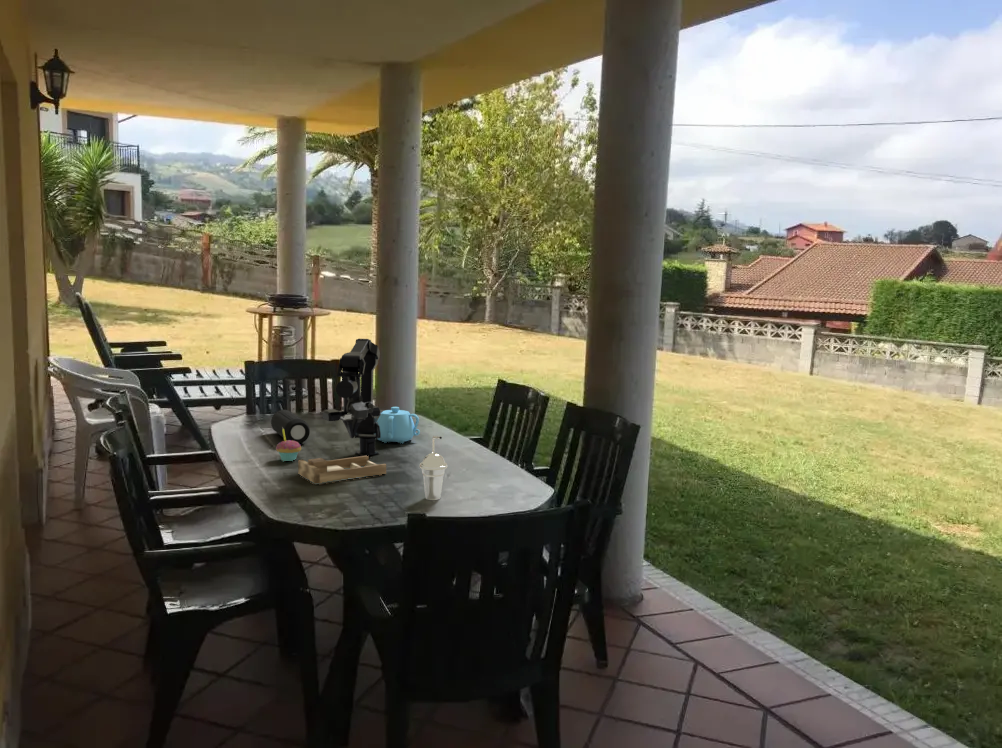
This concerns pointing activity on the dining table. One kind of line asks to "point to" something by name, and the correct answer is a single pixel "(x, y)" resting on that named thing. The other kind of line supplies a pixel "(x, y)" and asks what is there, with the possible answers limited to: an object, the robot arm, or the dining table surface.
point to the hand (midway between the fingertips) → (352, 438)
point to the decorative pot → (397, 425)
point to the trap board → (341, 469)
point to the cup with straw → (433, 473)
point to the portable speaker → (290, 426)
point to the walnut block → (319, 464)
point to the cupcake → (288, 449)
